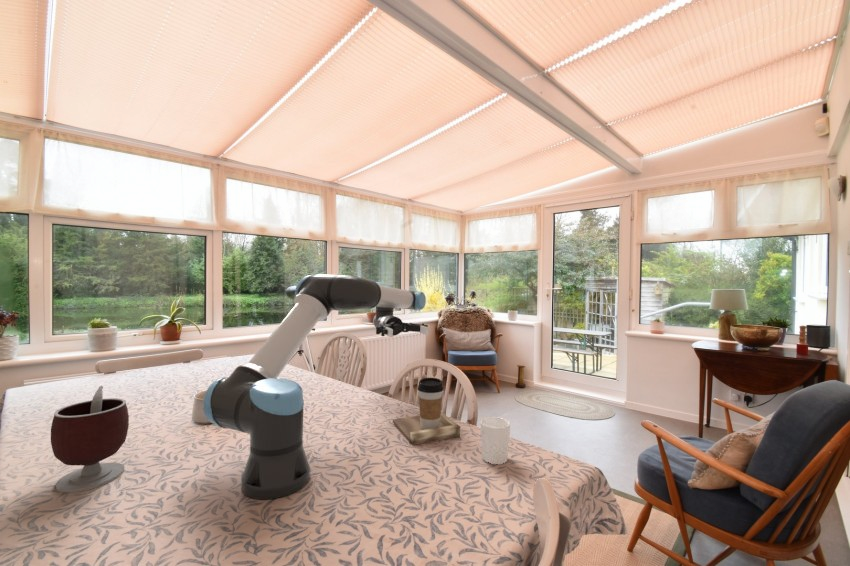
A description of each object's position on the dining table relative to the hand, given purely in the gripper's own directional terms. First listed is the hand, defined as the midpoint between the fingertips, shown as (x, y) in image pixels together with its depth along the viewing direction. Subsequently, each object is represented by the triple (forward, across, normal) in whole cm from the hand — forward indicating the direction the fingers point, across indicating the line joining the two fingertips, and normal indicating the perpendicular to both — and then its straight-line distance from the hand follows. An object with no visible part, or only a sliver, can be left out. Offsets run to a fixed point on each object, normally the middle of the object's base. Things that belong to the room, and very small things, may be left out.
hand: (410, 332), depth 130 cm
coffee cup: (+14, -2, -29) cm, 32 cm away
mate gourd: (+8, +85, -30) cm, 91 cm away
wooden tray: (+12, -1, -30) cm, 32 cm away
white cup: (+37, -11, -30) cm, 49 cm away
